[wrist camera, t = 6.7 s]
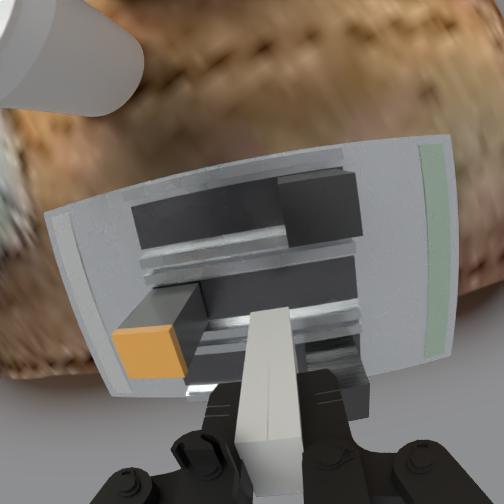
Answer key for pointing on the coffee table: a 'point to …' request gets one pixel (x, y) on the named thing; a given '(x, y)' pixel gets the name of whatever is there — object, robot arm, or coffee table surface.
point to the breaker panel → (278, 261)
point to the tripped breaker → (162, 333)
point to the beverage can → (65, 58)
